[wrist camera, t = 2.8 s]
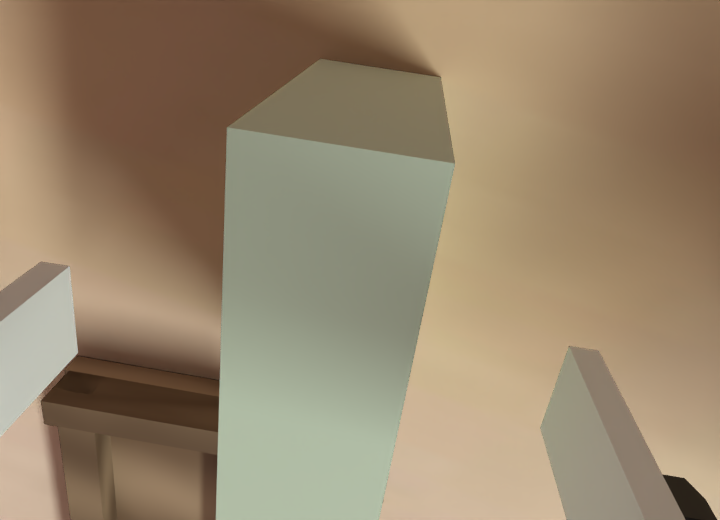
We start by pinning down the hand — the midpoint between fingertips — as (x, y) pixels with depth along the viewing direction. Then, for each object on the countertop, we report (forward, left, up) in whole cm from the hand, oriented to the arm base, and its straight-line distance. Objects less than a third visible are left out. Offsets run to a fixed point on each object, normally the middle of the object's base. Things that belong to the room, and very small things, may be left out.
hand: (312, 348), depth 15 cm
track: (+17, -7, -7) cm, 19 cm away
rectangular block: (0, 0, -7) cm, 7 cm away
